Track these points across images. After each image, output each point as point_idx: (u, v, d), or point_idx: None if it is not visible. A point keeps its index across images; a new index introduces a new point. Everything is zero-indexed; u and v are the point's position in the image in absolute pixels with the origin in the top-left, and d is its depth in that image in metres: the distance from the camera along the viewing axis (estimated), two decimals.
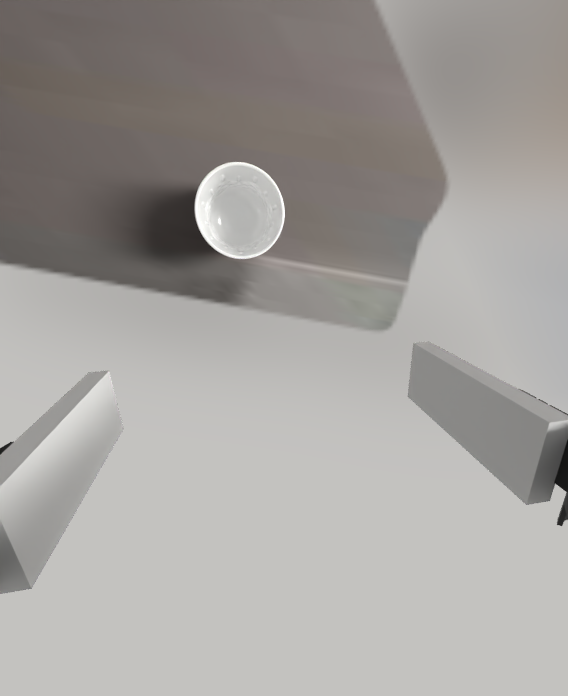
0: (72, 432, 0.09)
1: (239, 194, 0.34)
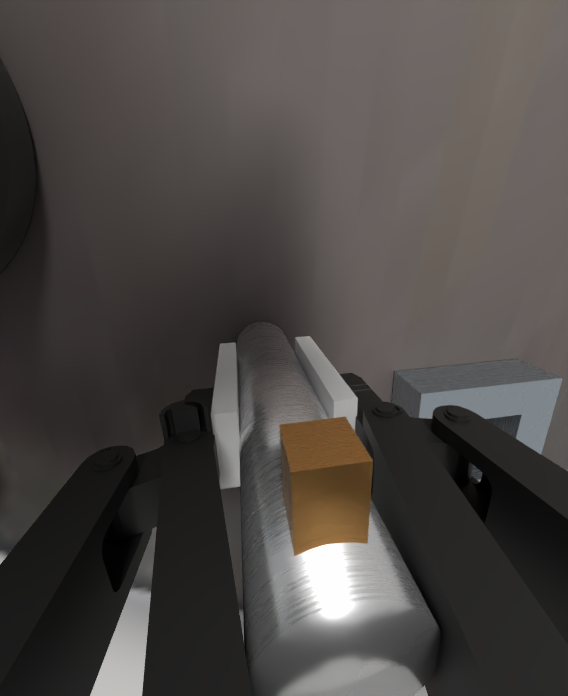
0: (237, 383, 0.12)
1: None
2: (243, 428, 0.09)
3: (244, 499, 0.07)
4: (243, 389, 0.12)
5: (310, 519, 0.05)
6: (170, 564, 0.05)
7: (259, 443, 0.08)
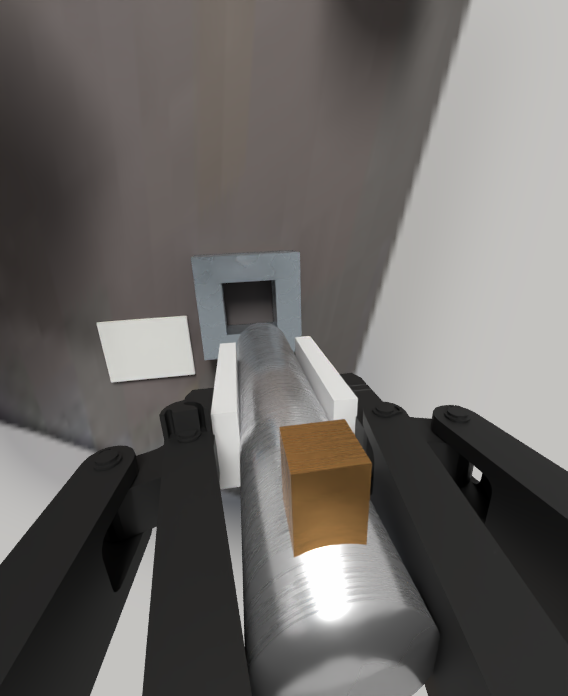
0: (237, 383, 0.12)
1: None
2: (243, 429, 0.09)
3: (244, 500, 0.07)
4: (243, 390, 0.12)
5: (310, 521, 0.05)
6: (170, 564, 0.05)
7: (259, 445, 0.08)
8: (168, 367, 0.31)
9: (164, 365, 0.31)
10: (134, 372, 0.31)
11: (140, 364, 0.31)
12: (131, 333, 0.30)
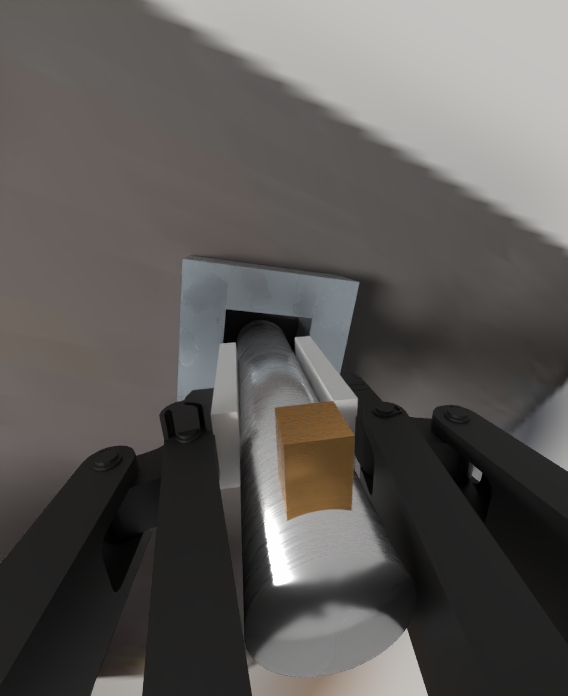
0: (237, 383, 0.12)
1: None
2: (242, 417, 0.10)
3: (243, 478, 0.08)
4: (243, 382, 0.12)
5: (300, 487, 0.05)
6: (170, 564, 0.05)
7: (257, 429, 0.09)
8: None
9: None
10: None
11: None
12: None
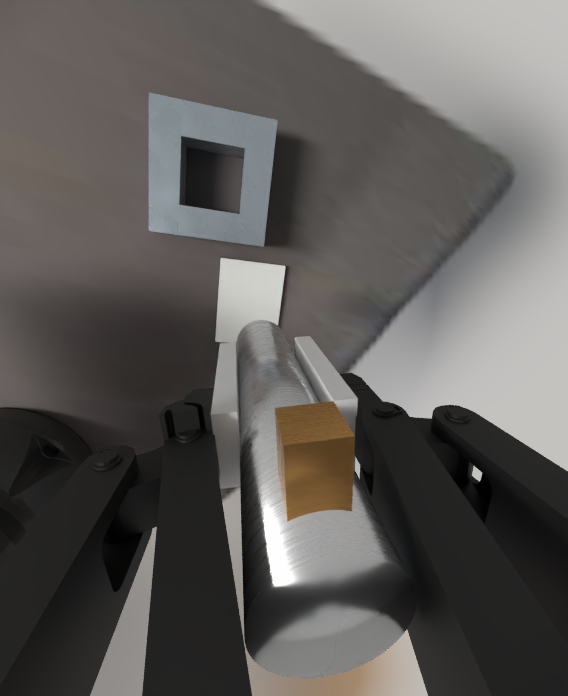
0: (237, 383, 0.12)
1: None
2: (243, 418, 0.10)
3: (243, 479, 0.08)
4: (243, 383, 0.12)
5: (301, 488, 0.05)
6: (170, 564, 0.05)
7: (257, 429, 0.09)
8: (272, 290, 0.30)
9: (268, 293, 0.30)
10: None
11: (262, 315, 0.31)
12: (229, 314, 0.30)
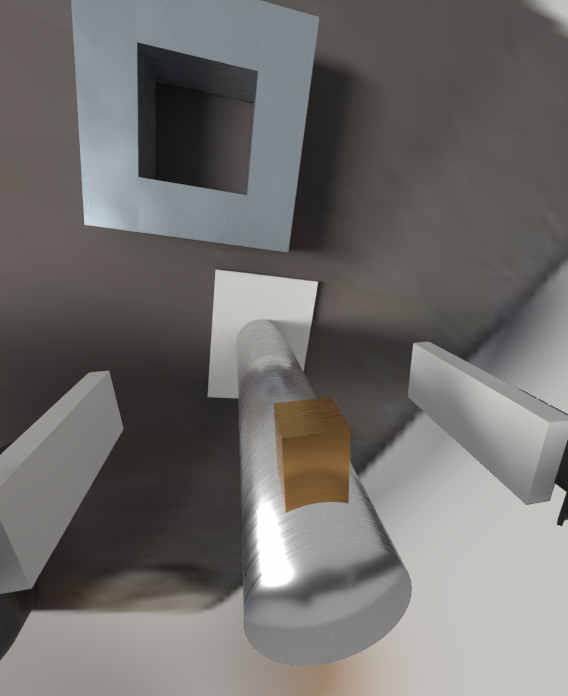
0: (71, 432, 0.09)
1: None
2: (242, 414, 0.10)
3: (243, 474, 0.08)
4: (242, 381, 0.12)
5: (298, 480, 0.06)
6: None
7: (257, 426, 0.09)
8: (296, 319, 0.19)
9: (290, 324, 0.19)
10: None
11: None
12: (230, 357, 0.19)
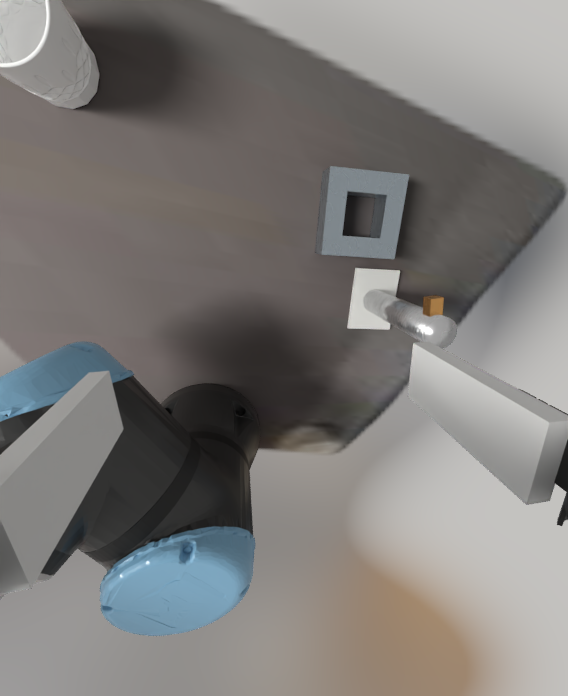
0: (71, 432, 0.09)
1: None
2: (397, 313, 0.33)
3: (409, 320, 0.30)
4: (388, 307, 0.35)
5: (433, 309, 0.28)
6: None
7: (408, 311, 0.31)
8: (389, 288, 0.42)
9: (387, 291, 0.42)
10: None
11: None
12: (359, 308, 0.42)
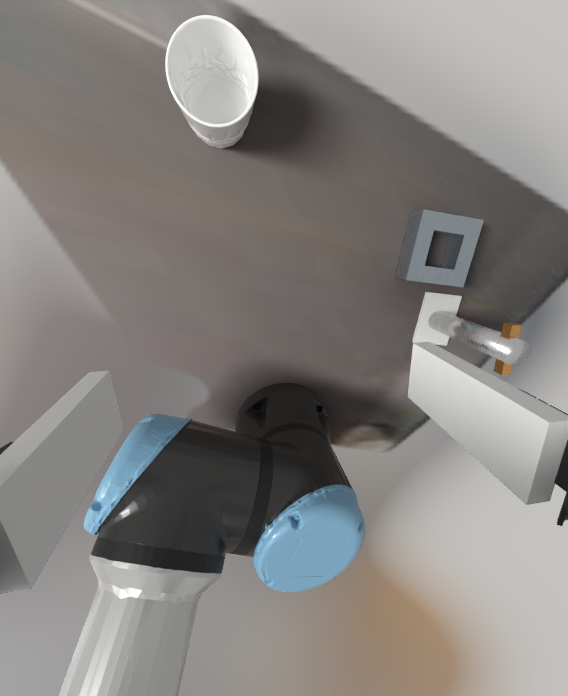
0: (72, 432, 0.09)
1: None
2: (472, 333, 0.40)
3: (487, 341, 0.38)
4: (461, 327, 0.42)
5: (512, 333, 0.35)
6: None
7: (485, 333, 0.38)
8: (451, 311, 0.49)
9: (449, 312, 0.49)
10: None
11: None
12: (425, 326, 0.49)
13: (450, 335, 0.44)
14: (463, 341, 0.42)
